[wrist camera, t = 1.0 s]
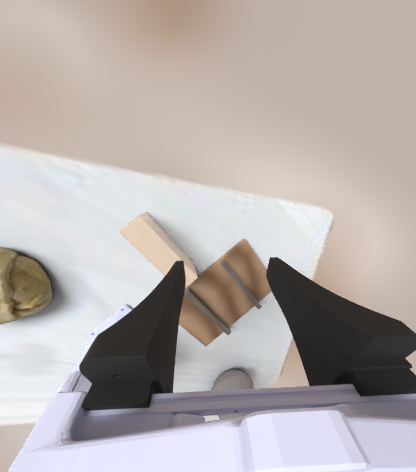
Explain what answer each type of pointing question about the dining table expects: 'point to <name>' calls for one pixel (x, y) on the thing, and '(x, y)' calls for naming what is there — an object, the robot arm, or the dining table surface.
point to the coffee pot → (232, 385)
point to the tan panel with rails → (224, 293)
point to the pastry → (21, 286)
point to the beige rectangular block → (157, 246)
